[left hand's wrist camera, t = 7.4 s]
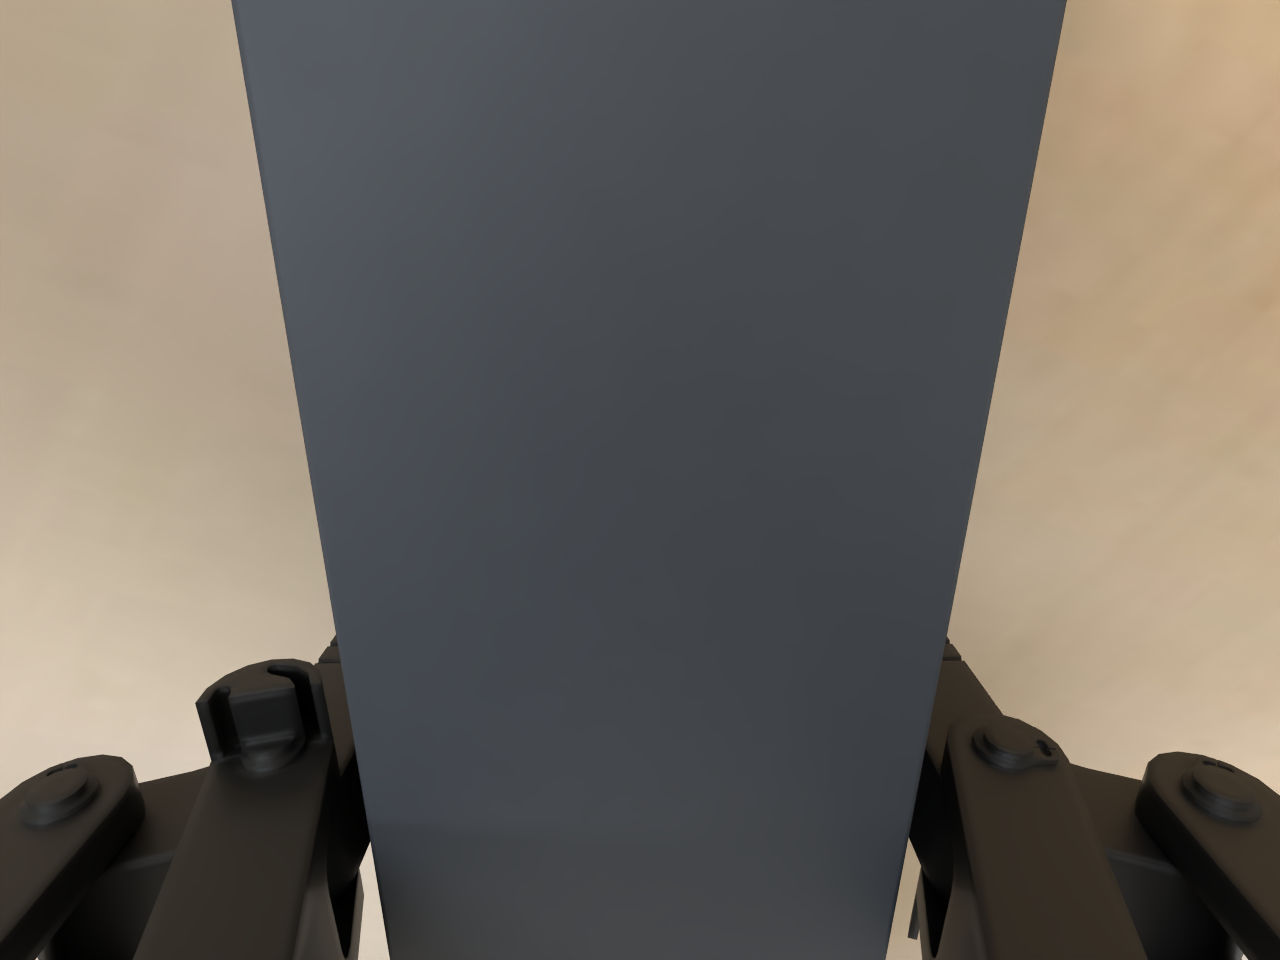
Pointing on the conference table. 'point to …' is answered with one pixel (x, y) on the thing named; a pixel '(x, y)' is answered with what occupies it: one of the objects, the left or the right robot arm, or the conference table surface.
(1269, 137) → the conference table surface
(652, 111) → the post
